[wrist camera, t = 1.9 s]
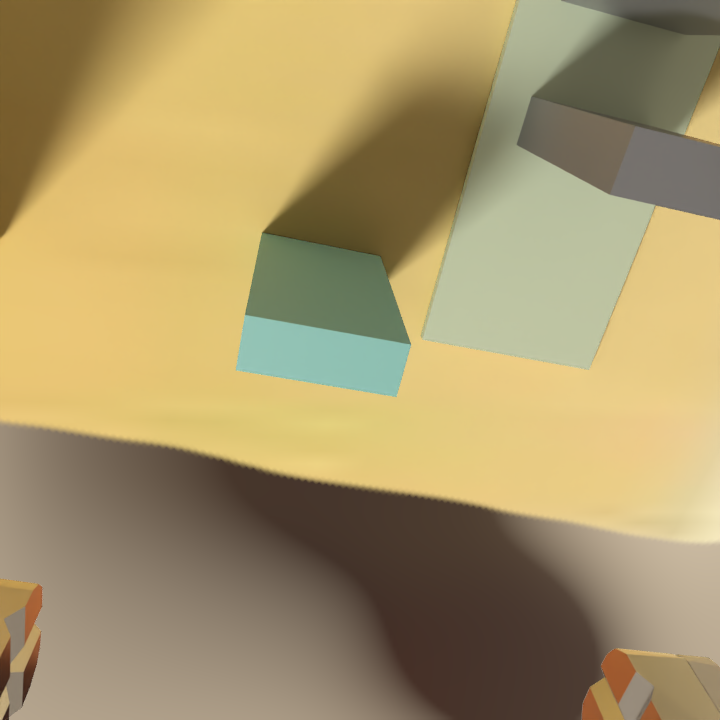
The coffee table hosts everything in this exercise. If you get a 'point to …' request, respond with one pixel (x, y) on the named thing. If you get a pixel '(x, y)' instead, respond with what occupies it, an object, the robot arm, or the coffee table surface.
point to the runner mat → (557, 185)
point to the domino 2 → (663, 13)
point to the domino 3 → (626, 157)
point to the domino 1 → (323, 318)
